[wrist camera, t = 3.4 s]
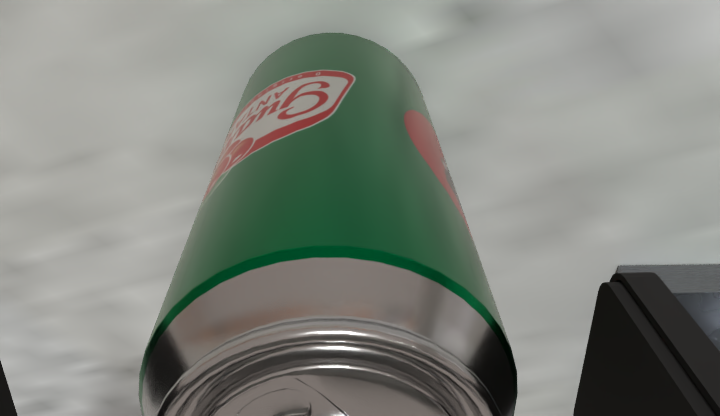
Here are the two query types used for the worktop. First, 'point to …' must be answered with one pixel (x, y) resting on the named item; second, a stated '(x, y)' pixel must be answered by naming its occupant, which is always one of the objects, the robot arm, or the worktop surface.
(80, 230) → the worktop surface
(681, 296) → the stand
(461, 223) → the soda can
